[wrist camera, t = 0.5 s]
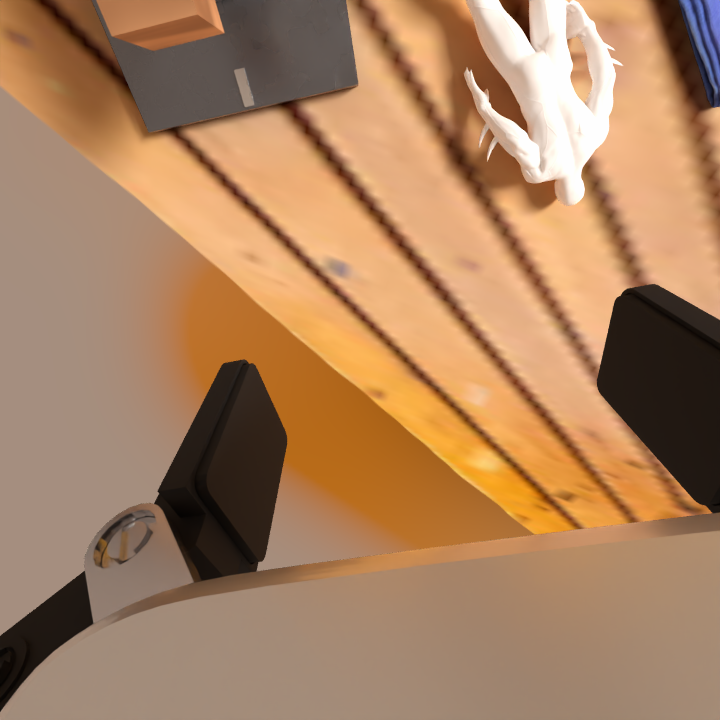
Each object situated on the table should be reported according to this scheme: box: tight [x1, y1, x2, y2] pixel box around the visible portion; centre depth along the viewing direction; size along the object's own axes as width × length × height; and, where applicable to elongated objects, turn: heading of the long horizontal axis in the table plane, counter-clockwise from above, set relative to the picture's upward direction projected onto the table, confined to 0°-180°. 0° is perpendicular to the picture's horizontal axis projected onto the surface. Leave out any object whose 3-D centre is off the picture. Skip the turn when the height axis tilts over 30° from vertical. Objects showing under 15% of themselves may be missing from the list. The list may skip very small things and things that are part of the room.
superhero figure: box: [464, 0, 623, 206], centre depth 28 cm, size 12×6×25 cm
